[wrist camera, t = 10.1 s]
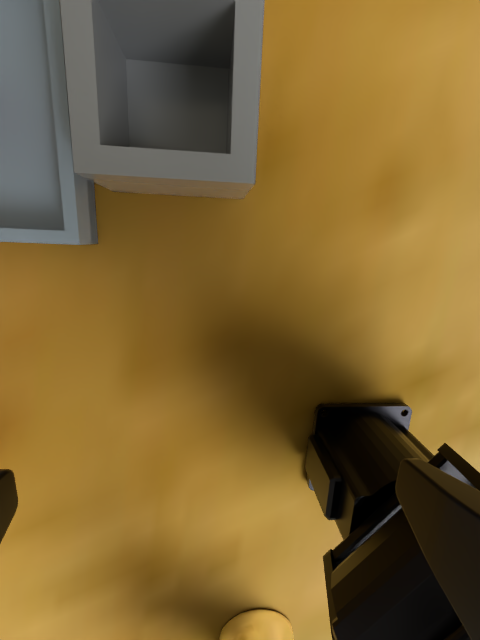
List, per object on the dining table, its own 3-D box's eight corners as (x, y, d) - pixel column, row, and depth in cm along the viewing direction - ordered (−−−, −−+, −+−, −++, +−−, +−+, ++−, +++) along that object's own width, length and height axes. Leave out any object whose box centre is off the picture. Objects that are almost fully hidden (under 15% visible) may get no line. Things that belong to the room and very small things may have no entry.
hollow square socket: (248, 52, 15) (265, -33, 11) (242, 199, 17) (255, 183, 12) (106, 37, 15) (54, -60, 10) (114, 191, 16) (73, 172, 12)
